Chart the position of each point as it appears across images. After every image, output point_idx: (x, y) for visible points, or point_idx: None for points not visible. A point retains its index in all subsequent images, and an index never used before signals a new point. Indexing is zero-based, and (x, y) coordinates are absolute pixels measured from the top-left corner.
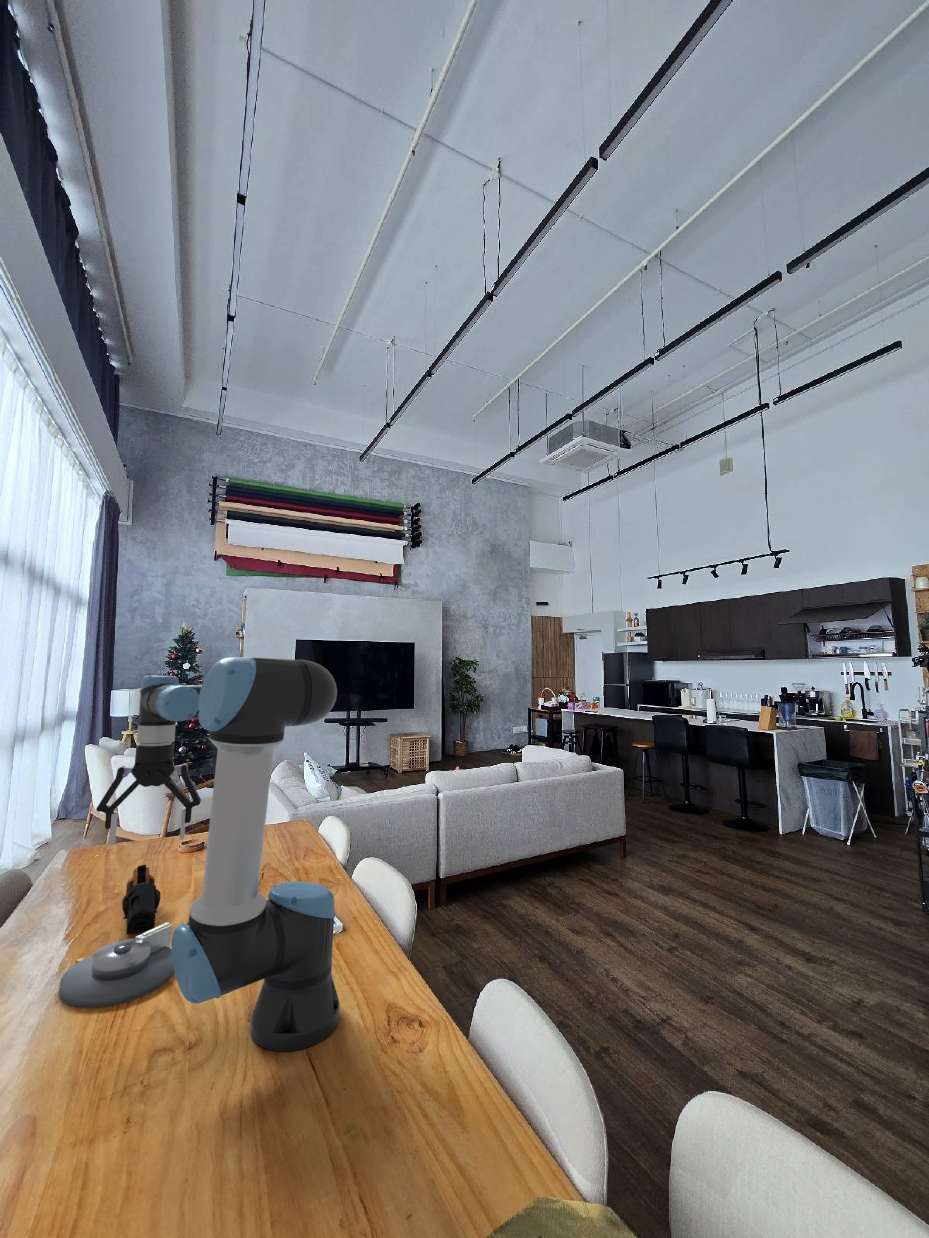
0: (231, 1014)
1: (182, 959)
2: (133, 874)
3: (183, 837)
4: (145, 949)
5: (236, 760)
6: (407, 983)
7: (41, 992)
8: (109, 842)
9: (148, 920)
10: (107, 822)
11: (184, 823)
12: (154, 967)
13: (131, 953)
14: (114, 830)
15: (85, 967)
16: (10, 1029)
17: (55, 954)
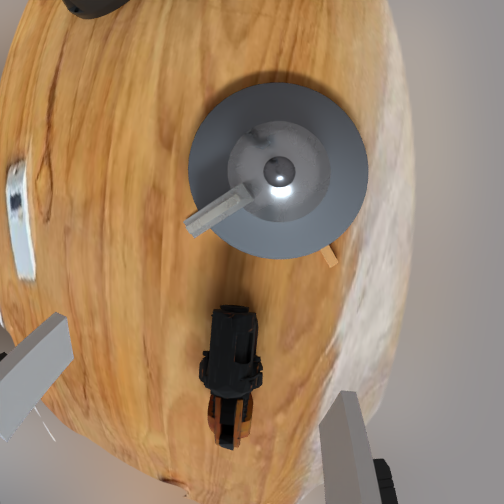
0: (156, 6)
1: None
2: (240, 434)
3: (52, 318)
4: (238, 150)
5: None
6: (18, 33)
7: (382, 194)
8: (357, 400)
9: (223, 306)
10: (384, 485)
11: (13, 352)
12: (227, 138)
13: (264, 147)
14: (347, 448)
15: (331, 207)
16: (410, 113)
17: (355, 313)
